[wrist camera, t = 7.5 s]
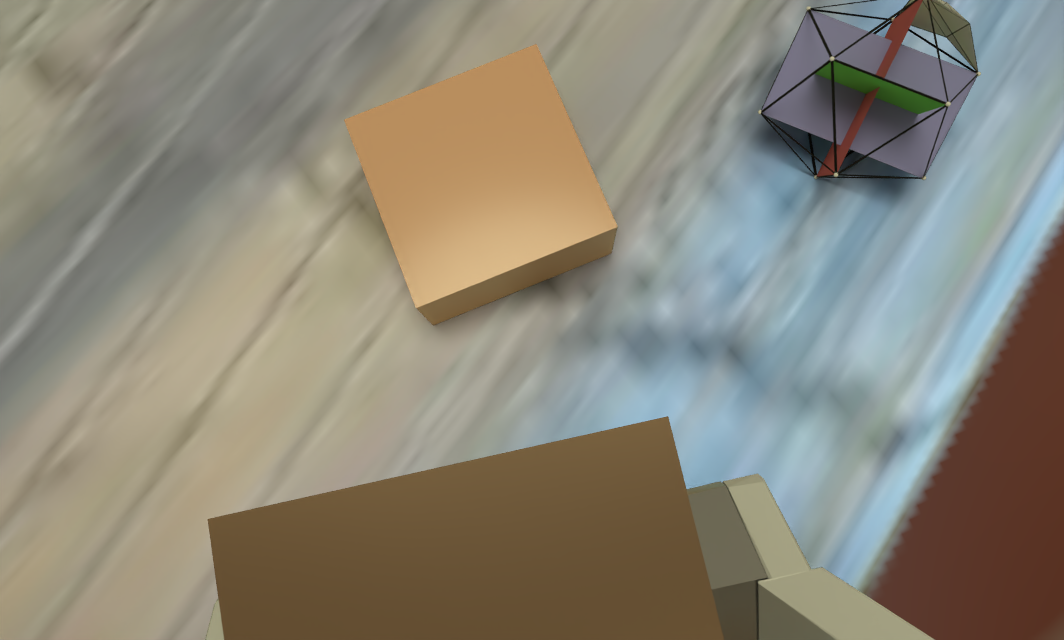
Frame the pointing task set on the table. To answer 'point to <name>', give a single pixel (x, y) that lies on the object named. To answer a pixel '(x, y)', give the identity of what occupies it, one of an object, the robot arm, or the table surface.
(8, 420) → the table surface
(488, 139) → the light tan block
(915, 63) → the geometric puzzle
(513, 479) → the walnut block
